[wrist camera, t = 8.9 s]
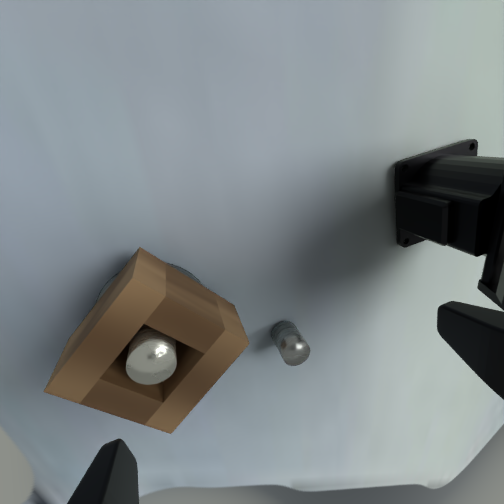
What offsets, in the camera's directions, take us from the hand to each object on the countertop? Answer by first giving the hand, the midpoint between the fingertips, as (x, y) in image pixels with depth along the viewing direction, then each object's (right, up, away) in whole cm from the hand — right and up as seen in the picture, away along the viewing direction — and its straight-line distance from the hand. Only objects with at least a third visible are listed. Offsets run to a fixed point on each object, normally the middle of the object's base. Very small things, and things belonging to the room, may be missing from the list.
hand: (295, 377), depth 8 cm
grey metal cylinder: (+1, -3, +15) cm, 15 cm away
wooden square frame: (-7, -1, +11) cm, 13 cm away
